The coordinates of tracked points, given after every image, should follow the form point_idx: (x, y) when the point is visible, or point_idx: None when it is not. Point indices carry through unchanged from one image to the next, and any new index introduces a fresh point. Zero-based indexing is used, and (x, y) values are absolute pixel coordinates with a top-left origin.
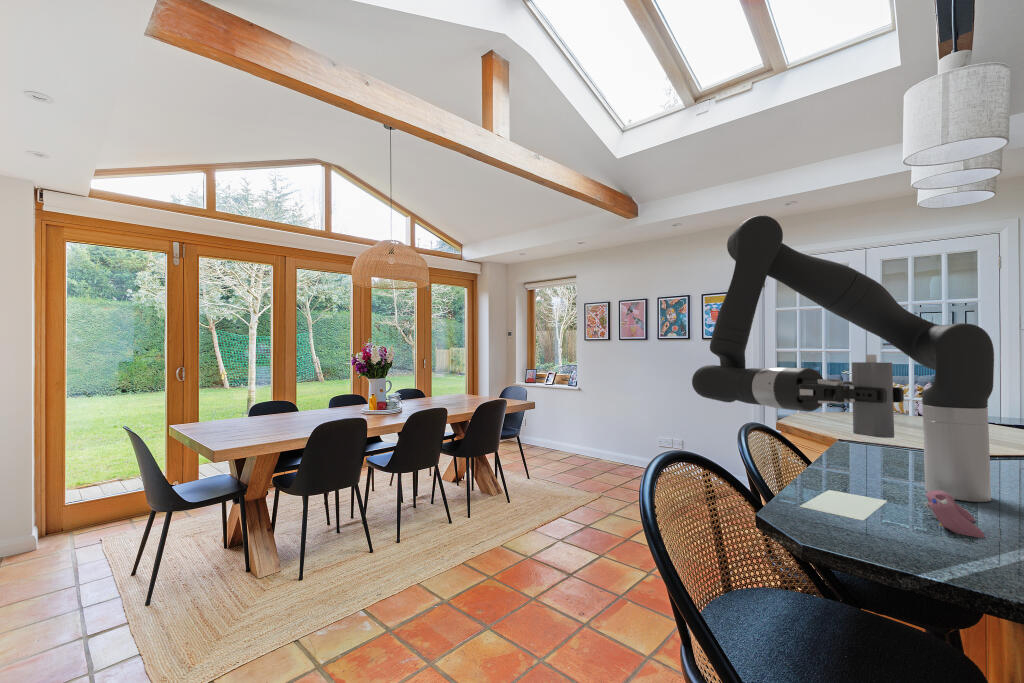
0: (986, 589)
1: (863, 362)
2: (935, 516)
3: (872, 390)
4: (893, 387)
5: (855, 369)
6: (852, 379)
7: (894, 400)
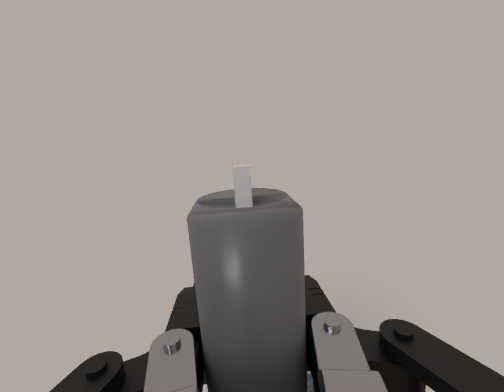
0: (309, 388)
1: (292, 200)
2: None
3: (311, 282)
4: None
5: (303, 246)
6: (299, 312)
7: None
